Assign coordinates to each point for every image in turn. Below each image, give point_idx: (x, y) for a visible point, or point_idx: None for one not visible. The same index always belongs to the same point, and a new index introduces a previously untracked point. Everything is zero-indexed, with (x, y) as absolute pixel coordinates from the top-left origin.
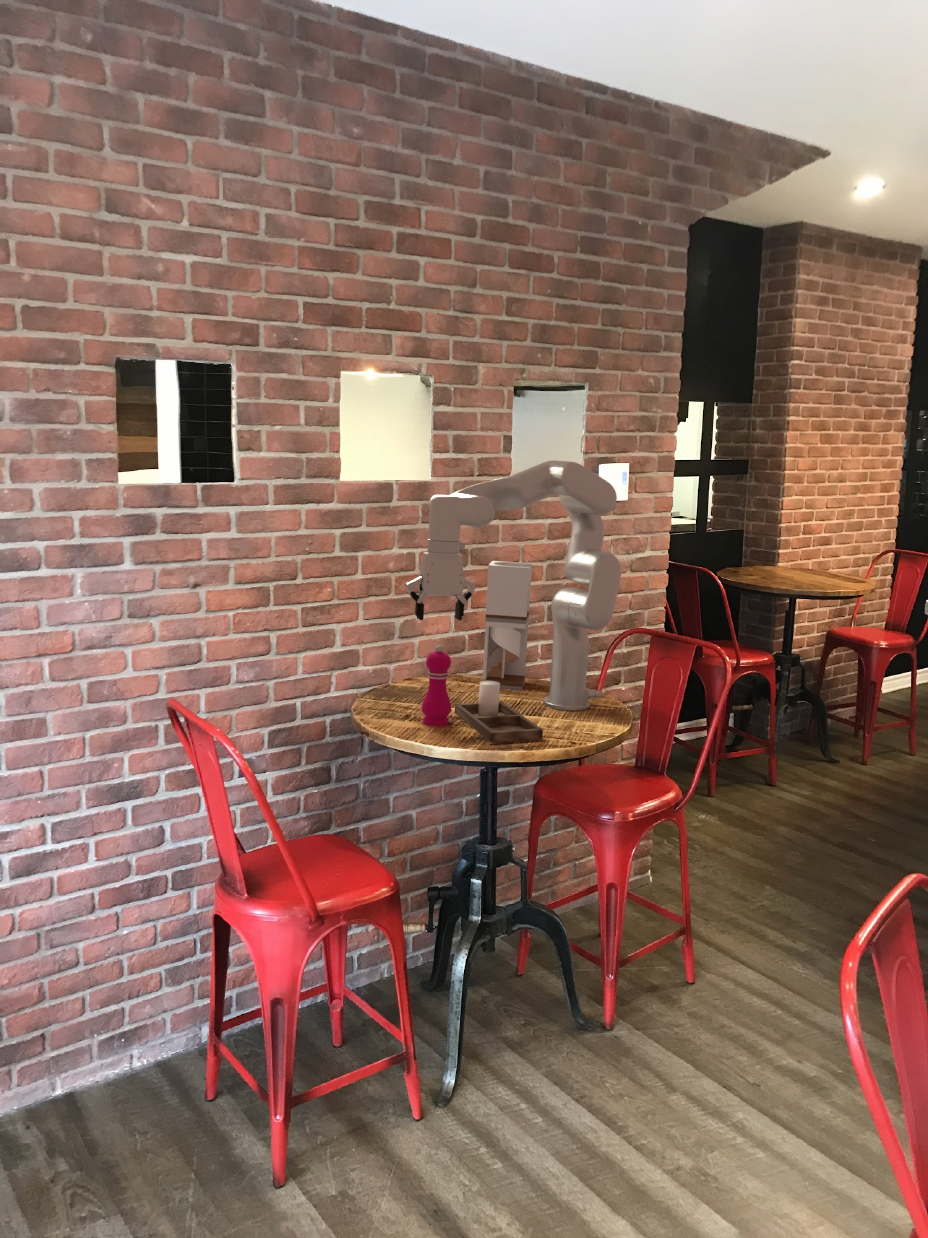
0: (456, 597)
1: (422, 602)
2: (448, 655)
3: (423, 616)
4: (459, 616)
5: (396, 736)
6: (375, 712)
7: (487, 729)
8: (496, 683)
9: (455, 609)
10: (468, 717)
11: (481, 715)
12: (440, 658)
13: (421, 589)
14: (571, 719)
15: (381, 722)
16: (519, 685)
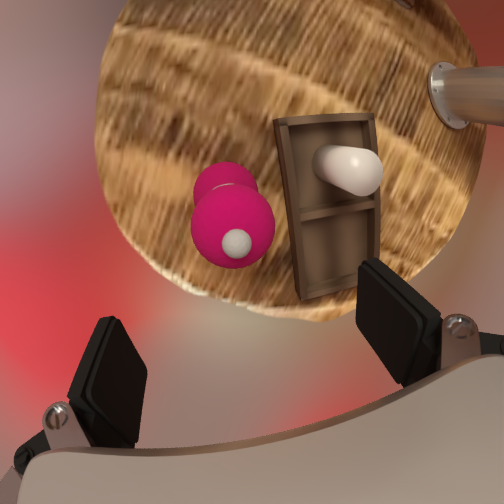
0: (437, 368)
1: (121, 443)
2: (268, 241)
3: (145, 383)
4: (365, 334)
5: (151, 253)
6: (116, 107)
7: (300, 285)
8: (376, 176)
9: (386, 295)
10: (288, 198)
11: (318, 174)
12: (235, 268)
13: (42, 464)
14: (439, 165)
15: (124, 173)
16: (408, 4)
